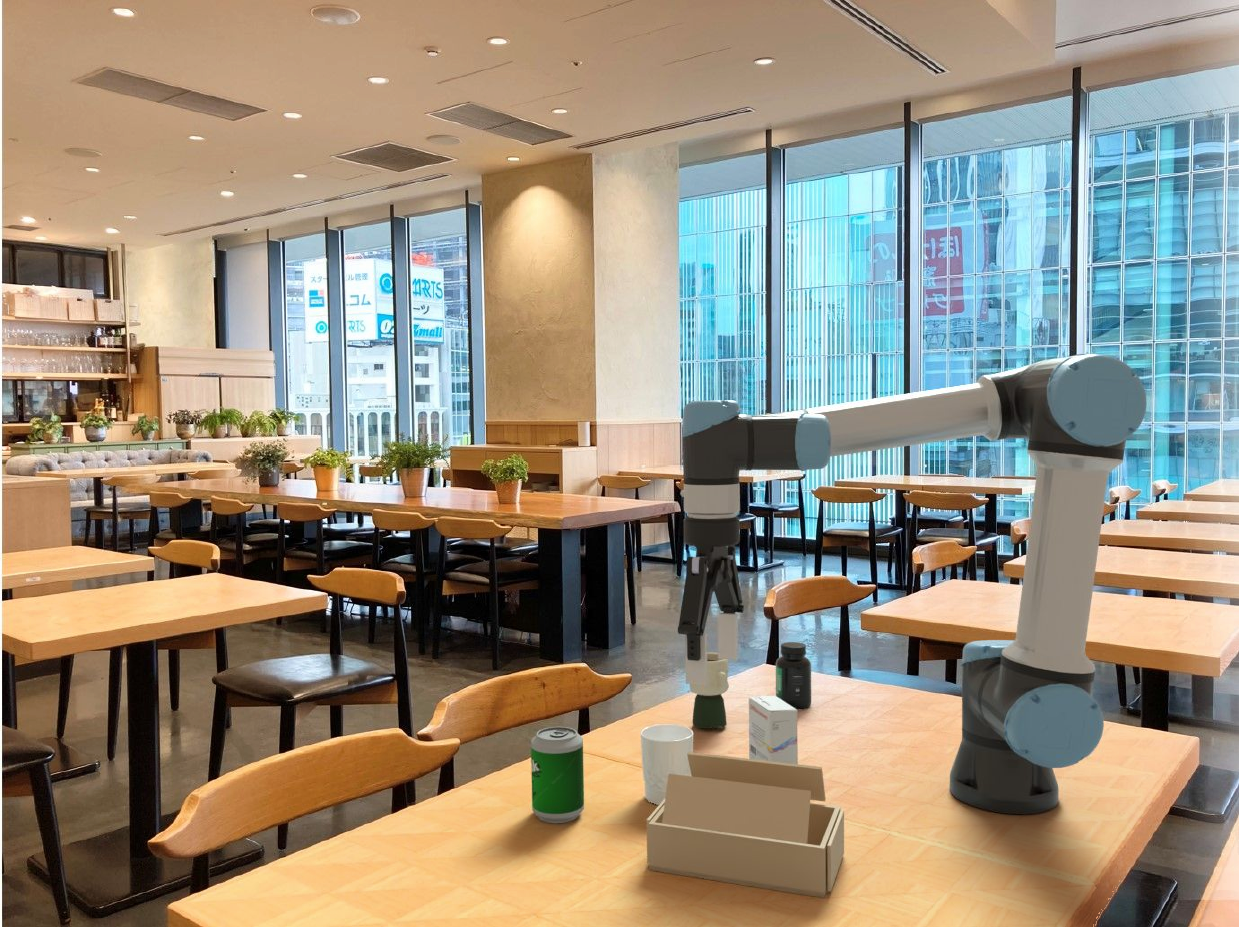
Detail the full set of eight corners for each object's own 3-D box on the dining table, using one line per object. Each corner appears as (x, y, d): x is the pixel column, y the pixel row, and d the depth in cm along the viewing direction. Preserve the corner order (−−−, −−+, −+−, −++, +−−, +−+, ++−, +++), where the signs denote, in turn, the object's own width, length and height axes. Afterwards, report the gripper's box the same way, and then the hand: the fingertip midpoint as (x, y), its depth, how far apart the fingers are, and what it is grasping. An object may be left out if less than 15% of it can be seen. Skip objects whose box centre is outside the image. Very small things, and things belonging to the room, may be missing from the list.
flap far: (825, 799, 130) (821, 767, 127) (825, 801, 130) (821, 769, 127) (694, 782, 136) (687, 751, 133) (693, 785, 136) (687, 754, 133)
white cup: (678, 812, 142) (677, 744, 142) (631, 801, 147) (630, 735, 146) (703, 794, 149) (702, 729, 149) (658, 784, 153) (657, 721, 153)
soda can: (593, 809, 144) (592, 728, 143) (569, 829, 137) (567, 744, 137) (548, 801, 147) (546, 722, 147) (522, 820, 140) (520, 737, 140)
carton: (845, 852, 129) (845, 807, 128) (829, 898, 117) (829, 849, 116) (675, 828, 137) (675, 785, 137) (644, 869, 125) (643, 822, 125)
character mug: (742, 732, 177) (741, 661, 177) (708, 738, 174) (707, 666, 174) (710, 716, 187) (710, 648, 186) (678, 721, 184) (677, 652, 183)
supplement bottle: (775, 709, 190) (775, 648, 190) (776, 699, 197) (775, 640, 197) (811, 711, 189) (811, 649, 189) (810, 700, 196) (810, 641, 195)
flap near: (807, 843, 117) (810, 791, 119) (806, 843, 117) (810, 790, 119) (663, 823, 123) (669, 774, 126) (662, 823, 123) (668, 773, 125)
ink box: (799, 783, 153) (799, 708, 152) (770, 787, 152) (769, 711, 151) (775, 764, 161) (775, 693, 161) (747, 768, 160) (747, 696, 159)
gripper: (713, 505, 146) (715, 647, 147) (651, 524, 123) (653, 692, 124) (763, 507, 143) (764, 652, 144) (708, 526, 120) (710, 698, 121)
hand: (712, 671), depth 134 cm, fingers open, 13 cm apart
